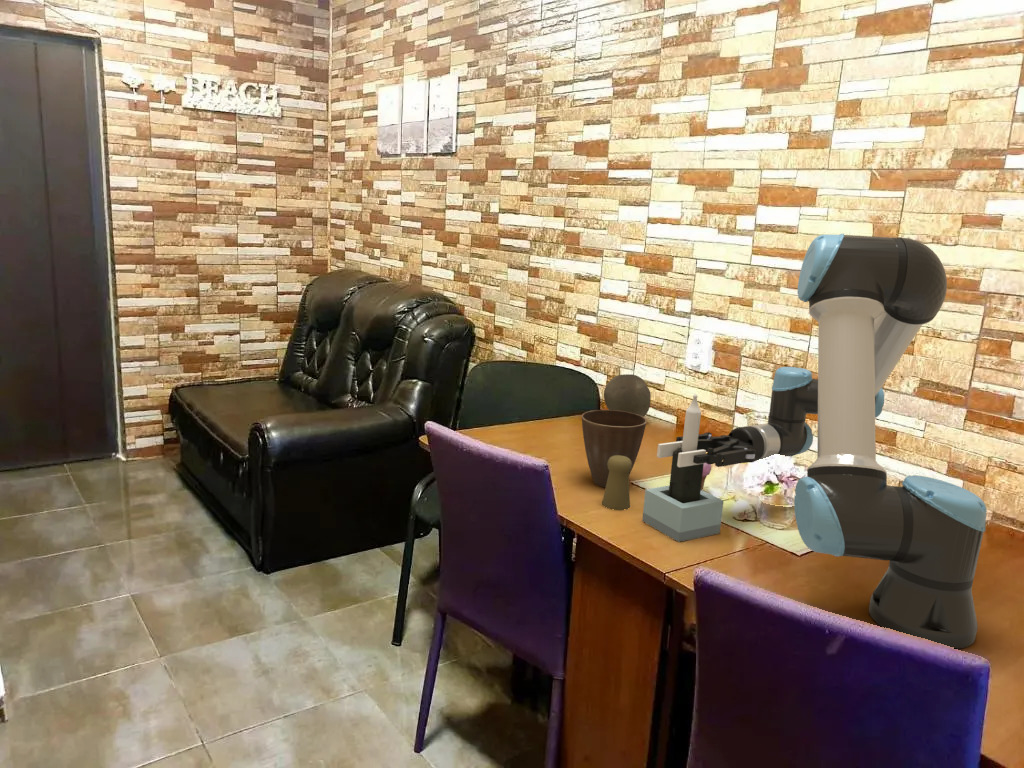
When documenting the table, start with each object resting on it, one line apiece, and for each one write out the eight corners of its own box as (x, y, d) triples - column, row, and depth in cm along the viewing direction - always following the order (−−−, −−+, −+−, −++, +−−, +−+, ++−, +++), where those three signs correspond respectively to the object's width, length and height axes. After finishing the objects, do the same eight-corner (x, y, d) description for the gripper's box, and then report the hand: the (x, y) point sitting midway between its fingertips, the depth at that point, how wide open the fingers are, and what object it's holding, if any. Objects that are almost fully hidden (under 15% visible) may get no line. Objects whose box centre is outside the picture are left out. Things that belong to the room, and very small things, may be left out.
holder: (719, 533, 150) (723, 500, 149) (678, 542, 145) (682, 508, 143) (682, 513, 160) (685, 482, 158) (642, 521, 154) (645, 489, 153)
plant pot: (591, 496, 167) (596, 427, 163) (567, 473, 181) (572, 410, 177) (651, 492, 171) (658, 425, 168) (624, 471, 185) (629, 408, 181)
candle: (664, 510, 153) (676, 392, 147) (684, 507, 155) (697, 390, 149) (679, 519, 148) (693, 398, 143) (700, 516, 150) (714, 396, 145)
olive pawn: (629, 511, 159) (633, 462, 156) (600, 508, 160) (605, 459, 158) (630, 501, 165) (635, 454, 162) (603, 498, 166) (607, 451, 163)
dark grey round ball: (623, 413, 241) (627, 368, 238) (657, 424, 231) (662, 377, 227) (593, 419, 232) (596, 372, 229) (627, 430, 222) (631, 381, 218)
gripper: (784, 474, 151) (699, 489, 139) (718, 448, 166) (637, 459, 155) (789, 438, 149) (704, 450, 138) (722, 415, 164) (640, 424, 153)
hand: (668, 455), depth 146 cm, fingers closed on candle, 5 cm apart
